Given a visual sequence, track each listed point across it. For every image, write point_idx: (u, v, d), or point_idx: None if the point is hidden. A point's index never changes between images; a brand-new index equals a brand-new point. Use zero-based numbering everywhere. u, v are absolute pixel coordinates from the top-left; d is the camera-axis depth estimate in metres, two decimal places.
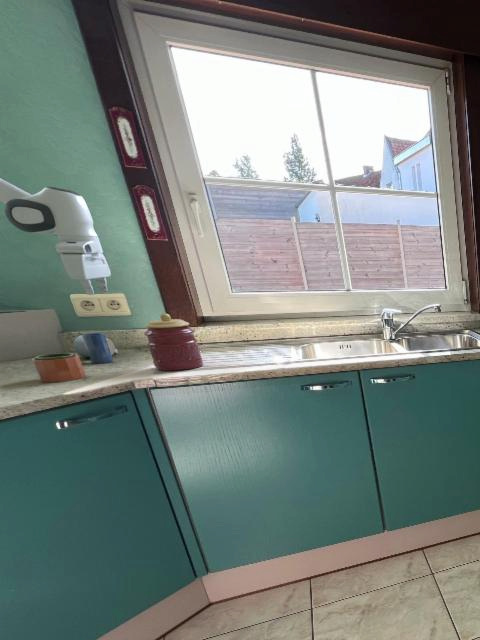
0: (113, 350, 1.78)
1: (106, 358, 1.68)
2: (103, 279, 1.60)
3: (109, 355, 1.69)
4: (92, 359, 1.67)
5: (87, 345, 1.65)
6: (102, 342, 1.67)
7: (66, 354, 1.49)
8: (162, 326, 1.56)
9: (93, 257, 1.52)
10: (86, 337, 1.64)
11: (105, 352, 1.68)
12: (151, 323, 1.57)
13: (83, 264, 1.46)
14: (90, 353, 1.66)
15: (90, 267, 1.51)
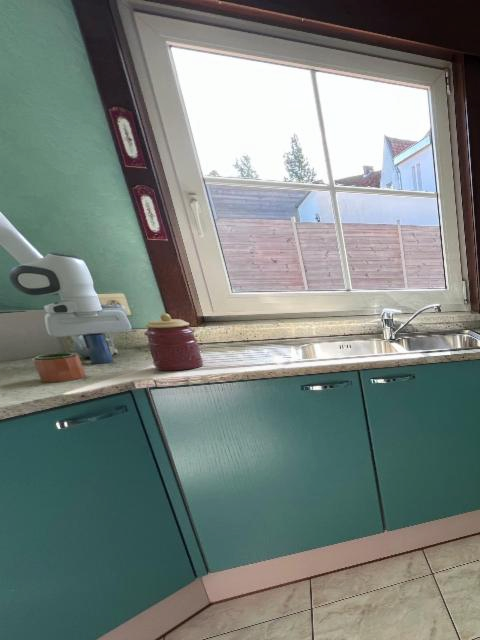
0: (113, 350, 1.78)
1: (106, 358, 1.68)
2: (109, 334, 1.69)
3: (109, 355, 1.69)
4: (92, 359, 1.67)
5: (87, 345, 1.65)
6: (102, 342, 1.67)
7: (66, 354, 1.49)
8: (162, 326, 1.56)
9: (80, 316, 1.61)
10: (86, 337, 1.64)
11: (105, 352, 1.68)
12: (151, 323, 1.57)
13: (49, 323, 1.56)
14: (90, 353, 1.66)
15: (73, 325, 1.61)
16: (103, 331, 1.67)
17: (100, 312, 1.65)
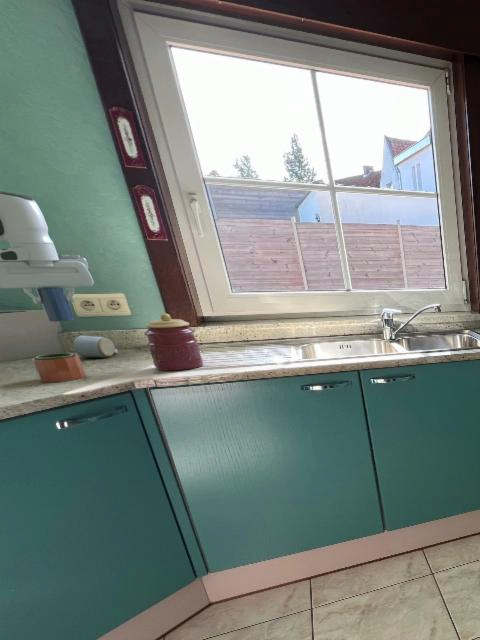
0: (113, 350, 1.78)
1: (65, 315, 1.49)
2: (68, 289, 1.50)
3: (68, 312, 1.50)
4: (48, 316, 1.48)
5: (42, 300, 1.46)
6: (59, 297, 1.48)
7: (66, 354, 1.49)
8: (162, 326, 1.56)
9: (32, 265, 1.42)
10: (41, 290, 1.45)
11: (63, 308, 1.49)
12: (151, 323, 1.57)
13: None
14: (46, 309, 1.47)
15: (24, 276, 1.42)
16: (60, 284, 1.48)
17: (56, 262, 1.46)
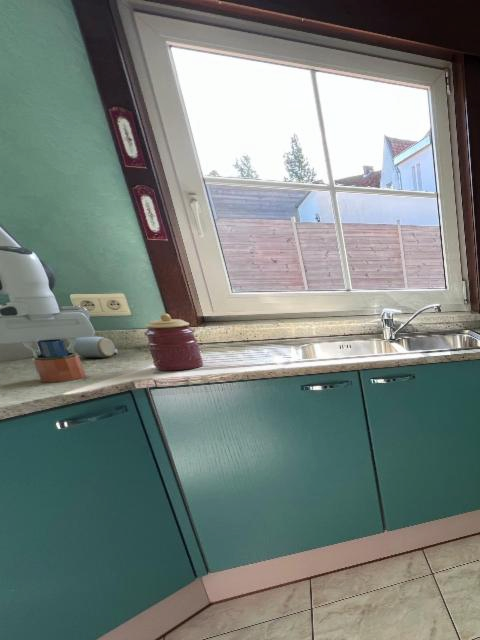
0: (113, 350, 1.78)
1: None
2: (69, 340, 1.47)
3: None
4: None
5: (42, 353, 1.43)
6: (60, 349, 1.45)
7: None
8: (162, 326, 1.56)
9: (32, 319, 1.39)
10: (41, 344, 1.42)
11: None
12: (151, 323, 1.57)
13: None
14: None
15: (24, 330, 1.39)
16: (61, 337, 1.45)
17: (57, 315, 1.44)
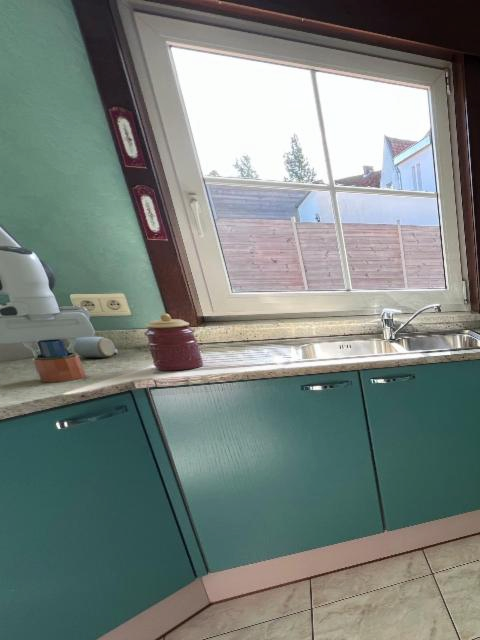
0: (113, 350, 1.78)
1: None
2: (69, 340, 1.47)
3: None
4: None
5: (42, 353, 1.43)
6: (60, 349, 1.45)
7: None
8: (162, 326, 1.56)
9: (32, 319, 1.39)
10: (41, 344, 1.42)
11: None
12: (151, 323, 1.57)
13: None
14: None
15: (24, 330, 1.39)
16: (61, 337, 1.45)
17: (57, 315, 1.44)
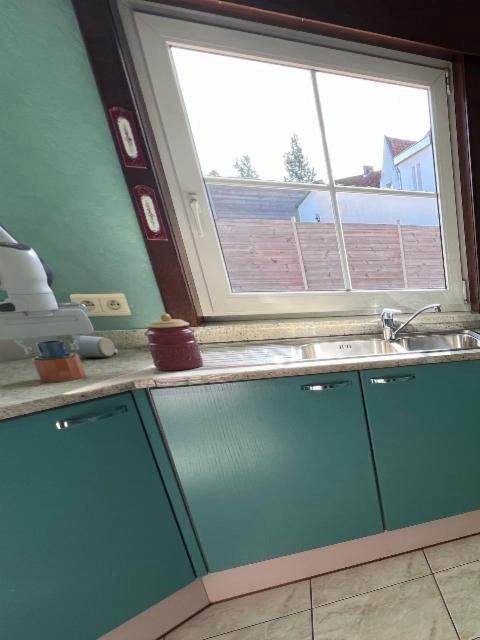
0: (113, 350, 1.78)
1: None
2: (73, 336, 1.48)
3: None
4: None
5: (42, 354, 1.43)
6: (60, 351, 1.45)
7: None
8: (162, 326, 1.56)
9: (31, 315, 1.39)
10: (41, 345, 1.42)
11: None
12: (151, 323, 1.57)
13: None
14: None
15: (22, 326, 1.39)
16: (60, 333, 1.45)
17: (56, 311, 1.43)
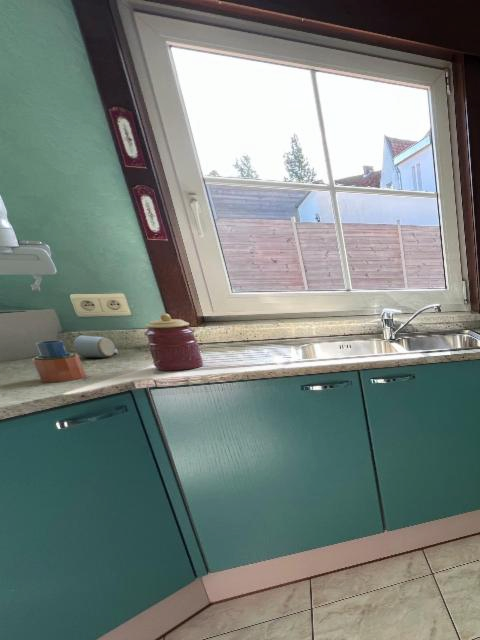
0: (113, 350, 1.78)
1: None
2: (34, 277, 1.43)
3: None
4: None
5: (42, 354, 1.43)
6: (60, 351, 1.45)
7: None
8: (162, 326, 1.56)
9: None
10: (41, 345, 1.42)
11: None
12: (151, 323, 1.57)
13: None
14: None
15: None
16: (20, 272, 1.40)
17: (16, 249, 1.38)
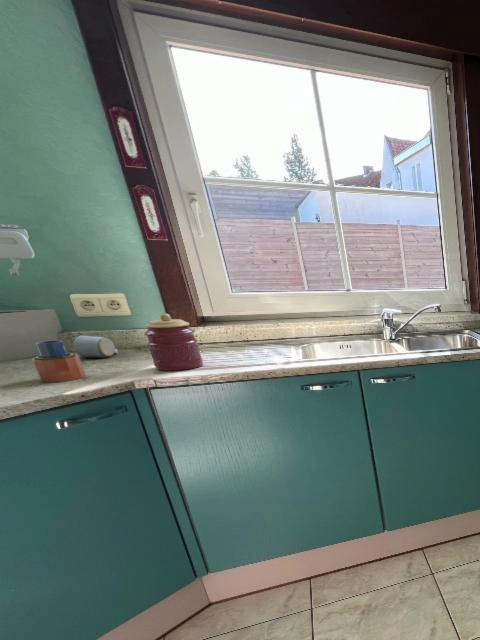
0: (113, 350, 1.78)
1: None
2: (12, 261, 1.42)
3: None
4: None
5: (42, 354, 1.43)
6: (60, 351, 1.45)
7: None
8: (162, 326, 1.56)
9: None
10: (41, 345, 1.42)
11: None
12: (151, 323, 1.57)
13: None
14: None
15: None
16: None
17: None
